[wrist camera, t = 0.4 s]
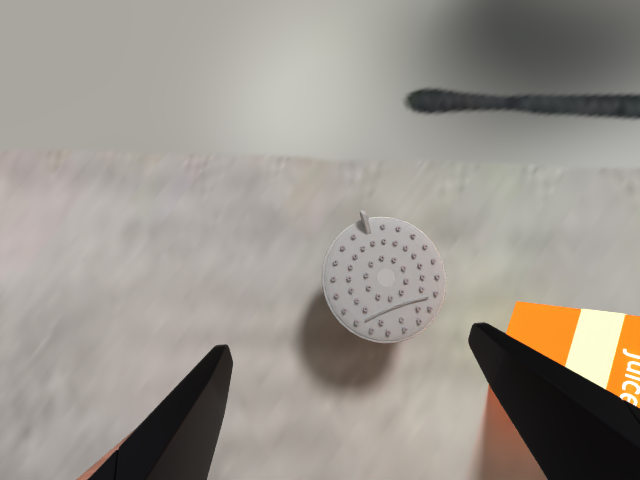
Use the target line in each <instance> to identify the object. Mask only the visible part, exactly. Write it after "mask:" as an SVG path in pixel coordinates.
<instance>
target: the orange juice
mask: <svg viewBox="0 0 640 480" xmlns="http://www.w3.org/2000/svg"><path fill="white" fill-rule="evenodd" d="M506 334H507V335H509V336H511V337H513V338H515V339H516V340H518V341H520V342H522V343H524V344H525V345H527V346H529V347H531V348H532V349H534V350H536V351H538V352H540V353H541V354H543V355H545V356H547V357H549V358H550V359H552V360H554V361H556V362H558V363H559V364H561V365H563V366H565V367H567V368H568V369H570V370H572V371H574V372H576V373H577V374H579V375H581V376H583V377H585V378H586V379H588V380H590V381H592V382H594V383H595V384H597V385H599V386H601V387H603V388H604V389H606V390H608V391H610V392H612V393H613V394H615V395H617V396H619V397H621V398H622V400H626V401H628V402H630V403H632V404H633V405H635V406H637V407H639V408H640V316H632V315H626V314H622V313H613V312H605V311H597V310H588V309H574V308H566V307H558V306H550V305H542V304H534V303H526V302H516V305H515V308H514V311H513V314H512V317H511V320H510V323H509V326H508V329H507V332H506ZM489 386H490V385H489Z"/></svg>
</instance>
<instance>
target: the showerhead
mask: <svg viewBox="0 0 640 480" xmlns="http://www.w3.org/2000/svg"><path fill="white" fill-rule="evenodd" d="M360 216H361V221H358V222H356V223H354V224H352V225H350V226H349V227H347V228H346V229H345V230H343V231H342V232H341V233H340V234H339V235H338V236H337V237H336V239H335V240H334V241H333V243H332V244H331V246H330V248H329V249H328V251H327V254H326V256H325V259H324V263H323V268H322V287H323V292H324V296H325V299H326V302H327V304H328V306H329V308H330V310H331V312H332V313H333V315H334V316H335V318H336V319H337V320H338V321H339V322H340V323H341V324H342V325H343V326H344V327H345V328H346V329H347V330H348V331H350V332H351V333H353V334H355V335H356V336H358V337H360V338H363V339H365V340H368V341H372V342H376V343H396V342H401V341H404V340H408V339H410V338H412V337H414V336H416V335H418V334H419V333H421V332H422V331H423V330H425V329H426V328H427V327H428V326H429V325H430V324H431V323H432V321H433V320H434V319H435V317H436V316H437V314H438V312H439V311H440V308H441V306H442V304H443V301H444V296H445V291H446V274H445V268H444V265H443V261H442V259H441V256H440V254H439V252H438V250H437V249H436V247H435V245H434V244H433V243H432V241H431V240H430V239H429V238H428V237H427V236H426V235H425V234H424V233H423V232H422V231H420V230H419V229H418V228H416V227H415V226H413V225H411V224H409V223H407V222H405V221H402V220H399V219H396V218H390V217H373V218H368V217H367V213H366V212H365V211H364V210H362V211H360Z"/></svg>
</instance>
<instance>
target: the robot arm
mask: <svg viewBox="0 0 640 480" xmlns="http://www.w3.org/2000/svg"><path fill="white" fill-rule="evenodd" d="M468 342H469V346H470V348H471V350H472V352H473V354H474V356H475V358H476V360H477V362H478V364H479V366H480V368H481V370H482V372H483V374H484V375H485V377H486V379H487V381H488V383H489V385H490V387H491V389H492V390H493V392H494V394H495V395H496V397H497V399H498V400H499V402H500V403H501V405H502V407H503V408H504V410H505V411H506V413H507V415H508V416H509V418H510V419H511V421H512V423H513V424H514V426H515V428H516V429H517V431H518V432H519V434H520V436H521V437H522V439H523V440H524V442H525V444H526V445H527V447H528V448H529V450H530V452H531V453H532V455H533V456H534V458H535V460H536V461H537V463H538V464H539V466H540V468H541V469H542V471H543V473H544V474H545V476H546V477H547V479H548V480H640V408H639V407H637V406H635V405H633V404H632V403H630V402H628V401H626V400H622V398H621V397H619V396H617V395H615V394H613V393H612V392H610V391H608V390H606V389H604V388H603V387H601V386H599V385H597V384H595V383H594V382H592V381H590V380H588V379H586V378H585V377H583V376H581V375H579V374H577V373H576V372H574V371H572V370H570V369H568V368H567V367H565V366H563V365H561V364H559V363H558V362H556V361H554V360H552V359H550V358H549V357H547V356H545V355H543V354H541V353H540V352H538V351H536V350H534V349H532V348H531V347H529V346H527V345H525V344H524V343H522V342H520V341H518V340H516V339H515V338H513V337H511V336H509V335H507V334H506V333H504V332H502V331H500V330H498V329H497V328H495V327H493V326H491V325H489V324H487V323H484V322H483V323H474V324H473V325H472V328H471V331H470V335H469V339H468ZM232 368H233V360H232V356H231V353H230V349H229V347H228V345H226V344H225V345H216V346H215V347H214V348H213V349H212V350H211V351H210V352H209V353H208V354H207V355H206V356H205V357H204V358H203V359H202V360H201V361H200V362H199V363H198V364H197V365H196V366H195V367H194V369H193V370H192V371H191V372H190V373H189V374H188V375H187V376H186V377H185V378H184V379H183V380H182V381H181V382H180V383H179V384H178V385H177V386H176V387H175V388H174V390H173V391H172V392H171V393H170V394H169V395H168V396H167V397H166V398H165V399H164V400H163V401H162V402H161V403H160V404H159V405H158V406H157V407H156V408H155V409H154V411H153V412H152V413H151V414H150V415H149V416H148V417H147V418H146V419H145V420H144V421H143V422H142V423H141V424H140V425H139V426H138V427H137V428H136V429H135V430H134V432H133V433H132V434H131V435H130V436H129V437H128V438H127V439H126V440H125V441H124V442H123V443H122V444H121V445H120V446H119V449H118V450H115V451H114V452H113V453H112V455H111V456H110V457H109V458H108V459H107V460H106V461H105V462H104V463H103V464H102V465H101V466H100V467H99V468H98V469H97V470H96V471H95V472H94V473H93V474H92V475H91V476H90V477H89V478H88V479H87V480H207V477H208V473H209V469H210V466H211V462H212V458H213V455H214V451H215V447H216V444H217V440H218V436H219V433H220V429H221V425H222V422H223V418H224V414H225V409H226V403H227V397H228V391H229V386H230V380H231V374H232Z"/></svg>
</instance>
